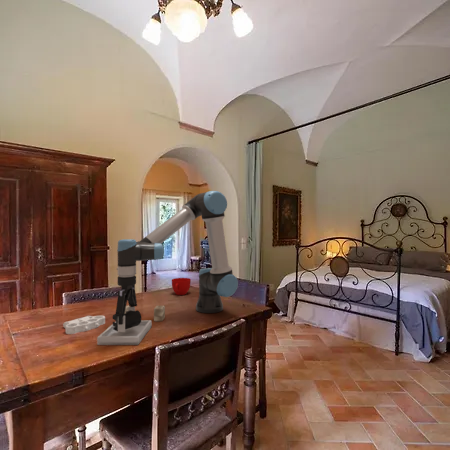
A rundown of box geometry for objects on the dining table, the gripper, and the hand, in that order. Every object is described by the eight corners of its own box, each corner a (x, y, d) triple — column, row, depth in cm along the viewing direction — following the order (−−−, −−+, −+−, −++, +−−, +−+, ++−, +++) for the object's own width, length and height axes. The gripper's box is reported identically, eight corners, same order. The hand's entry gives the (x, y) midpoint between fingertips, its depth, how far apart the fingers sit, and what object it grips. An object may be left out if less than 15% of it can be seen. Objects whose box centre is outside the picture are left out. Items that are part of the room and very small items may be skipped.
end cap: (120, 333, 115) (119, 317, 115) (111, 329, 120) (111, 313, 120) (141, 327, 122) (141, 311, 122) (133, 323, 127) (133, 308, 127)
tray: (151, 326, 131) (151, 320, 131) (138, 345, 111) (138, 337, 111) (117, 326, 131) (117, 320, 131) (97, 344, 111) (97, 337, 111)
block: (164, 317, 145) (164, 305, 145) (162, 321, 139) (162, 309, 139) (156, 317, 145) (156, 305, 145) (153, 321, 139) (153, 309, 139)
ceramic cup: (166, 297, 186) (166, 282, 186) (175, 291, 202) (175, 277, 202) (185, 298, 183) (185, 282, 183) (192, 292, 200) (192, 278, 200)
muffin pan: (93, 319, 143) (111, 324, 135) (55, 330, 127) (73, 337, 120) (93, 312, 143) (111, 317, 135) (55, 323, 127) (73, 329, 120)
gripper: (127, 271, 133) (127, 317, 133) (106, 281, 109) (106, 337, 109) (143, 271, 133) (143, 317, 133) (125, 281, 109) (125, 337, 109)
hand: (126, 326), depth 121 cm, fingers closed on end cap, 12 cm apart
